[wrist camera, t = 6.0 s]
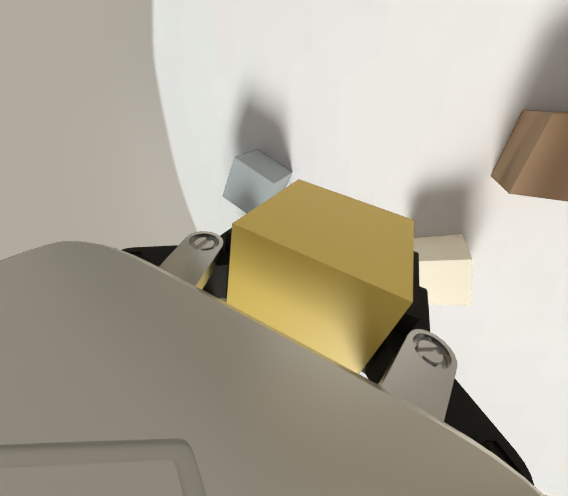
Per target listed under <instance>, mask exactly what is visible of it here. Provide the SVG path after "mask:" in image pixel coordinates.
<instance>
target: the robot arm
mask: <svg viewBox="0 0 568 496" xmlns="http://www.w3.org/2000/svg"><path fill="white" fill-rule="evenodd" d="M231 236H232V228H231V229H229V230H228V231H226V232H225V233H223V234H222V235H220V236H219V235H217V234H215V233H213V232H207V231H200V232H195V233H193V234H190V235H189V236H187V237H186V238H185V239H184V240H183V241H182V242H181V243H180V244H179V245H177V246H157V247H156V246H155V247H134V248H126V249H123V250H119V249H117V248H113V247H109V246H105V245H102V244H94V243H89V242H81V241H62V242H56V243H52V244H48V245H45V246H41V247H38V248H35V249H31V250H28V251H25V252H23V253H20V254H17V255H14V256H11V257H8V258H6V259H3V260H0V496H546V495H544V494H542V493H541V492H540V491H539V490H538V489H537V488H536V487H535V486H534V483H533V480H532V477H531V474H530V472H529V470H528V468H527V467H526V465H525V463H524V461H523V460H522V459H521V457H520V456H519V455H518V453H517V452H516V451H515V449H514V448H513V447H512V446H511V445H510V443H509V442H508V441H507V440H506V439H505V437H504V436H503V435H502V434H501V433H500V432H499V430H498V429H497V428H496V427H495V426H494V424H493V423H492V422H491V421H490V420H489V418H488V417H487V416H486V415H485V414H484V413H483V411H482V410H481V409H480V408H479V407H478V405H477V404H476V403H475V402H474V401H473V399H472V398H471V397H470V396H469V395H468V393H467V392H466V391H465V390H464V389H463V388H462V386H461V385H460V384H459V383H458V382H457V380H456V379H455V374H456V370H457V360H456V357H455V354H454V353H453V351H452V350H451V348H450V347H449V346H448V345H447V344H446V343H445V342H444V341H443V340H442V339H441V338H439V337H438V336H436V335H435V334H433V333H431V332H430V322H429V306H428V292H427V289H426V288H423V287H421V286H419V253H418V252H415V251H414V253H413V303H412V304H411V305H410V307H409V308H408V309H407V311H406V312H405V313H404V315H403V316H402V317H401V319H400V320H399V321H398V323H397V324H396V325H395V327H394V328H393V329H392V331H391V332H390V333H389V335H388V336H387V337H386V339H385V340H384V341H383V343H382V344H381V345H380V347H379V348H378V349H377V351H376V352H375V353H374V355H373V356H372V357H371V359H370V360H369V361H368V363H367V364H366V365H365V367H364V368H363V369H362V372H363V373H365V374H366V376H367V377H368V379H367V378H365V377H363V376H361V375H359V374H358V373H356V372H354V371H352V370H350V369H348V368H347V367H345V366H343V365H341V364H339V363H337V362H335V361H334V360H332V359H330V358H328V357H326V356H324V355H323V354H321V353H319V352H317V351H315V350H313V349H312V348H310V347H308V346H306V345H304V344H302V343H301V342H299V341H297V340H295V339H293V338H291V337H289V336H288V335H286V334H284V333H282V332H280V331H278V330H276V329H275V328H273V327H271V326H269V325H267V324H265V323H263V322H262V321H260V320H258V319H256V318H254V317H252V316H250V315H249V314H247V313H245V312H243V311H241V310H239V309H237V308H236V307H234V306H232V305H230V304H228V303H226V302H224V301H222V300H221V298H225V299H227V291H228V277H229V263H230V249H231Z"/></svg>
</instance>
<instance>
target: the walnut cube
mask: <svg viewBox="0 0 568 496" xmlns="http://www.w3.org/2000/svg"><path fill="white" fill-rule="evenodd" d="M491 177H492V178H493V179H494V180H495V181H496V182H498V183H499V184H500V185H501V186H502V187H503V188H504V189H505V190H506V191H507V192H508V193H509V194H517V195H524V196H532V197H539V198H546V199H554V200H561V201H568V112H553V111H529V110H523V111H522V113H521V115H520V117H519V119H518V121H517V123H516V126H515V128H514V130H513V132H512V134H511V136H510V138H509V140H508V142H507V144H506V146H505V148H504V150H503V152H502V154H501V156H500V159H499V161H498V163H497V165H496V167H495V169H494V171H493V173H492V175H491Z"/></svg>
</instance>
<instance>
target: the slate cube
mask: <svg viewBox="0 0 568 496" xmlns="http://www.w3.org/2000/svg"><path fill="white" fill-rule="evenodd" d="M291 175H292V172H291V171H290V170H288V169H287V168H285V167H284V166H282V165H281V164H279V163H278V162H276V161H275V160H273V159H272V158H270V157H269V156H267V155H266V154H264V153H263V152H261V151H260V150H255V151H252V152H249V153H246V154H243V155H240V156H237V157H234V160H233V164H232V167H231V170H230V173H229V177H228V180H227V183H226V186H225V190H224V193H223V197H224V198H226V199H227V200H229V201H230V202H232V203H233V204H235V205H236V206H237V207H239V208H240V209H242V210H243V211H245V212H246V213H249V212H250V211H252V210H253V209H255V208H256V207H258V206H259V205H261V204H262V203H264V202H265V201H267V200H268V199H270V198H271V197H273V196H274V195H276V194H277V193H279V192H280V191H282V190H283V189H285V187H286V185H287V183H288V181H289V179H290V177H291Z"/></svg>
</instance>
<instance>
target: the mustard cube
mask: <svg viewBox="0 0 568 496" xmlns="http://www.w3.org/2000/svg"><path fill="white" fill-rule="evenodd" d="M413 253H414V220H412V219H409V218H407V217H404V216H401V215H398V214H395V213H393V212H390V211H387V210H384V209H381V208H378V207H376V206H373V205H370V204H367V203H364V202H361V201H359V200H356V199H353V198H350V197H347V196H345V195H342V194H339V193H336V192H333V191H330V190H328V189H325V188H322V187H319V186H316V185H313V184H311V183H308V182H305V181H302V180H297V181H296V182H294V183H293V184H291V185H289V186H288V187H286V188H285V189H283V190H282V191H280V192H279V193H277V194H276V195H274V196H273V197H271V198H270V199H268V200H267V201H265V202H264V203H262V204H261V205H259V206H258V207H256V208H255V209H253V210H252V211H250V212H249V213H247V214H246V215H244V216H243V217H241V218H240V219H238V220H237V221H235V222H234V223H232V236H231V249H230V263H229V277H228V291H227V303H228V304H230V305H232V306H234V307H236V308H237V309H239V310H241V311H243V312H245V313H247V314H249V315H250V316H252V317H254V318H256V319H258V320H260V321H262V322H263V323H265V324H267V325H269V326H271V327H273V328H275V329H276V330H278V331H280V332H282V333H284V334H286V335H288V336H289V337H291V338H293V339H295V340H297V341H299V342H301V343H302V344H304V345H306V346H308V347H310V348H312V349H313V350H315V351H317V352H319V353H321V354H323V355H324V356H326V357H328V358H330V359H332V360H334V361H335V362H337V363H339V364H341V365H343V366H345V367H347V368H348V369H350V370H352V371H354V372H356V373H358V374H359V373H360V372H361V371H362V369H363V368H364V367H365V365H366V364H367V363H368V361H369V360H370V359H371V357H372V356H373V355H374V353H375V352H376V351H377V349H378V348H379V347H380V345H381V344H382V343H383V341H384V340H385V339H386V337H387V336H388V335H389V333H390V332H391V331H392V329H393V328H394V327H395V325H396V324H397V323H398V321H399V320H400V319H401V317H402V316H403V315H404V313H405V312H406V311H407V309H408V308H409V307H410V305H411V304H412V303H413Z"/></svg>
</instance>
